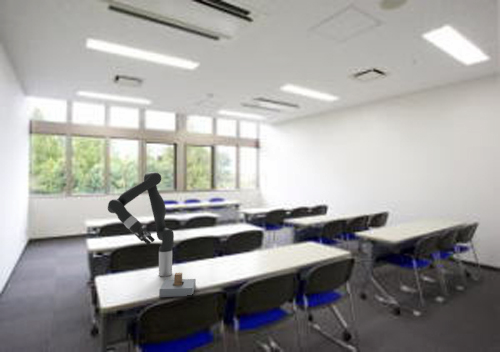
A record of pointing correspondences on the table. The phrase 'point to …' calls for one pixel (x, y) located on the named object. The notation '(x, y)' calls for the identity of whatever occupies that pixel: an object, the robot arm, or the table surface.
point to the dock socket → (177, 288)
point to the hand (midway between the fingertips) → (151, 242)
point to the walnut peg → (178, 279)
